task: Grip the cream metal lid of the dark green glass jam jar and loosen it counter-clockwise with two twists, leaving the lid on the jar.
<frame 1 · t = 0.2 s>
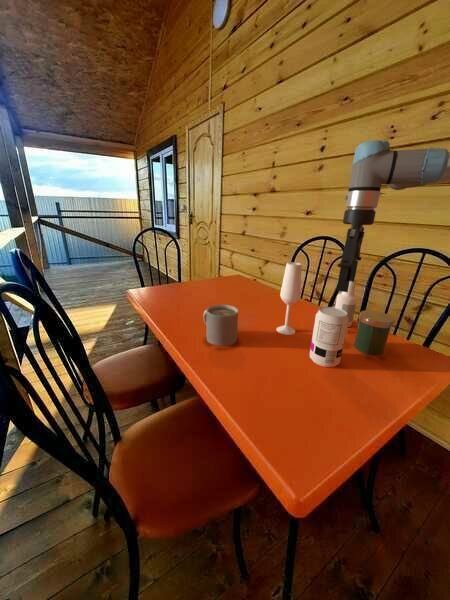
hand: (345, 285, 75), 20 cm above the table, tool pointing down, fingers open, 13 cm apart
jar lid: (376, 317, 76), point 11 cm above the table, screwed on, not yet turned
jam jar: (368, 348, 80), on the table
supplement can: (323, 360, 73), on the table
coffee mug: (218, 336, 84), on the table
spray bottle: (341, 324, 97), on the table
champagne flute: (285, 330, 90), on the table
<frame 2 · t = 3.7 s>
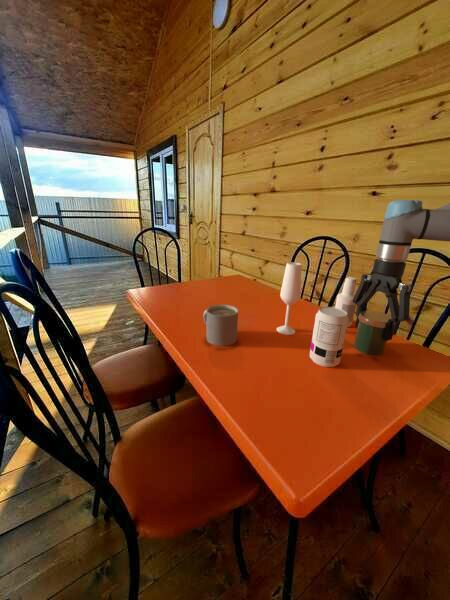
hand: (372, 332, 78), 6 cm above the table, tool pointing down, fingers closed on jar lid, 9 cm apart
jar lid: (376, 317, 76), point 11 cm above the table, screwed on, not yet turned, touching gripper
everything else where it was.
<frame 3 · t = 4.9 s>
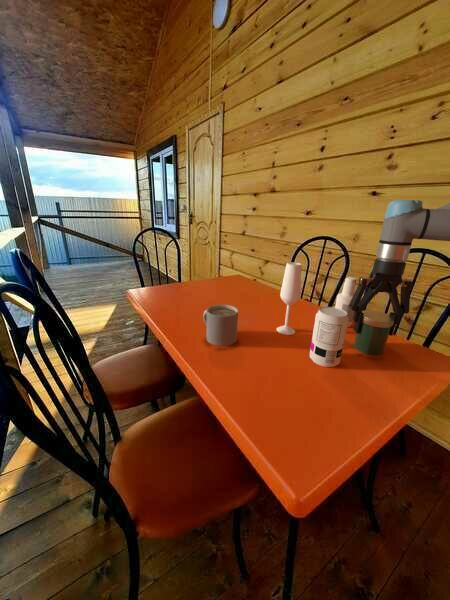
hand: (372, 332, 78), 6 cm above the table, tool pointing down, fingers closed on jar lid, 9 cm apart
jar lid: (376, 317, 76), point 11 cm above the table, turned 62° so far, risen 0.1 cm, still on its thread, touching gripper
everything else where it was.
when the fingers open (5 cm above the table, at t = 6.4 s): jar lid stays where it is, point 11 cm above the table.
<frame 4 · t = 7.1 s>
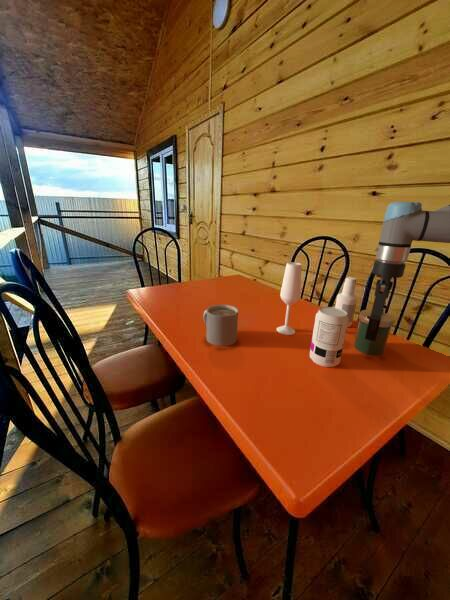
hand: (372, 333, 78), 5 cm above the table, tool pointing down, fingers open, 10 cm apart
jar lid: (376, 316, 76), point 11 cm above the table, turned 135° so far, risen 0.2 cm, still on its thread
everything else where it was.
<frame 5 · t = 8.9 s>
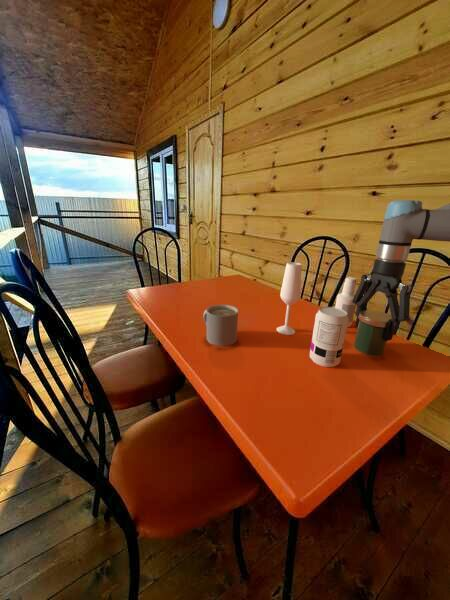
hand: (372, 332, 78), 5 cm above the table, tool pointing down, fingers closed on jar lid, 9 cm apart
jar lid: (376, 316, 76), point 11 cm above the table, turned 135° so far, risen 0.2 cm, still on its thread, touching gripper
everything else where it was.
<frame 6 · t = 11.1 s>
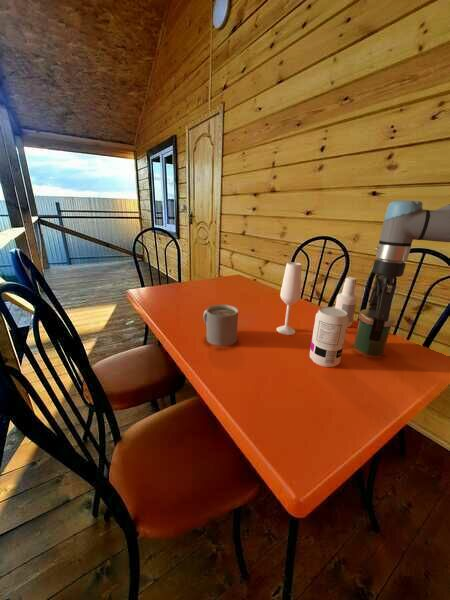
hand: (371, 332, 78), 5 cm above the table, tool pointing down, fingers closed on jar lid, 9 cm apart
jar lid: (376, 316, 76), point 11 cm above the table, turned 269° so far, risen 0.4 cm, still on its thread, touching gripper
everything else where it was.
when the fingers open (5 cm above the table, at t = 11.7 s): jar lid stays where it is, point 11 cm above the table.
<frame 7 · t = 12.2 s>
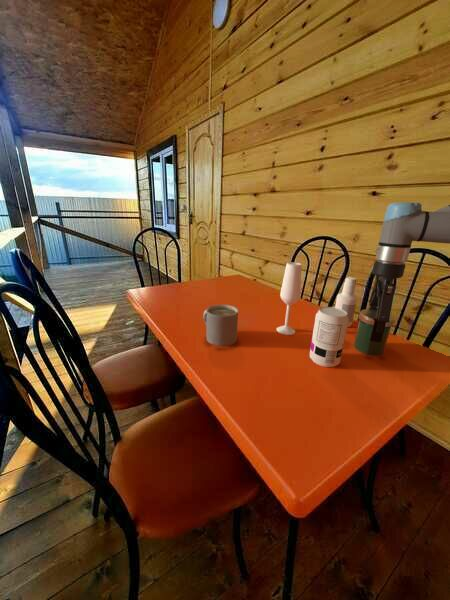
hand: (372, 333, 78), 5 cm above the table, tool pointing down, fingers open, 10 cm apart
jar lid: (376, 316, 76), point 11 cm above the table, turned 269° so far, risen 0.4 cm, still on its thread
everything else where it was.
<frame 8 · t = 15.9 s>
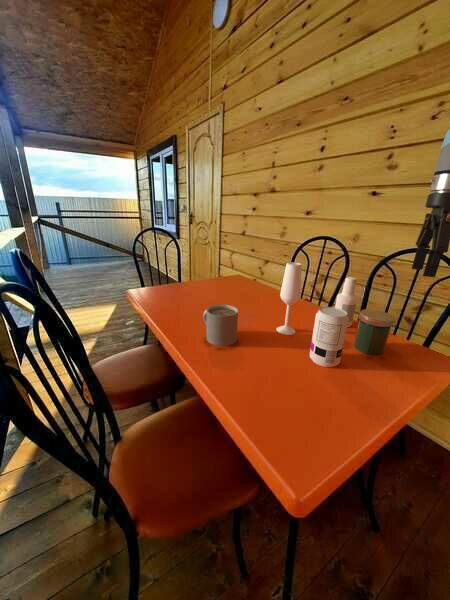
hand: (422, 272, 76), 24 cm above the table, tool pointing down, fingers open, 10 cm apart
nothing on the table moved.
at the end: jar lid turned 0.75 turns (still on its thread); jar lid is still on its thread (0.75 turns); jam jar tilted 0° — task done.
